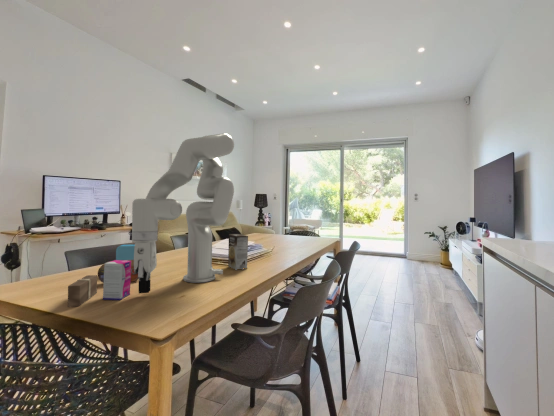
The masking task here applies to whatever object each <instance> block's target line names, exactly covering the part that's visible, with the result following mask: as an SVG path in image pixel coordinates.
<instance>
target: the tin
mask: <svg viewBox="0 0 554 416" xmlns="http://www.w3.org/2000/svg"><path fill="white" fill-rule="evenodd" d="M111 261H112V260H110V261H109V262H111ZM123 261H131V280H130V283H133V282H137V280H138V281H139V278H138V273H135V272H134V260H123ZM104 264H105V263H103V264H102V265H101V266H99V268H98V271H97V279H98V281H100V282H101V283H102V284H104Z"/></svg>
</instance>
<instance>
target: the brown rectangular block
mask: <svg viewBox="0 0 554 416" xmlns="http://www.w3.org/2000/svg"><path fill="white" fill-rule="evenodd" d="M97 292H98V274H97V275H96V274H92V275H91V274H90V275H86V276H83V277H82V278H79V279H77V281H74V282H73V283H70V284H69V285H68V286H67V307H69V308H70V307H72V308H73V307H81V306H82V305H83V304H85V303H86V302H87V301H89V300H90V299H91V298H93V297H94V296H95V295H97Z"/></svg>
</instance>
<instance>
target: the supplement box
mask: <svg viewBox="0 0 554 416" xmlns="http://www.w3.org/2000/svg"><path fill="white" fill-rule="evenodd" d="M110 261H111V262H110ZM110 261H107V262H105V263H103V264H104V283H103V286H102V287H103V288H102V289H103V290H102V300H103V301H121V300H123V299H124V298H126V297H128V296H130V295H131V282H130V280H131V261H123V260H116V259H114V260H110Z"/></svg>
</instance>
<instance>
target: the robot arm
mask: <svg viewBox="0 0 554 416" xmlns="http://www.w3.org/2000/svg"><path fill="white" fill-rule="evenodd" d="M234 149H235V142H234V139H233V137H232V136H231V135H230V134H228V133H226V132H225V133H224V132H223V133H217V134H209V135H205V136H200V137H192V138H191V137H190V138H188V139H187V138H186V139H185V140H183V141H182V142H181V144H180V145H179V148H178V150H177V152H176V153H175V156H174V159H173V161H172V162H171V165H170V167H169V169H168V170H167V171H166V172H165V173H164V174H163V175H162V176H161V177H160V178H159V179H158V180H156V181H155V183H154V184H153V185H152V186H151V187H150V189H149V191H148V192H147V195H146V197H145V198H136V199H135V198H134V199H133V200H132V206H131V208H132V209H131V210H132V211H131V215H132V216H131V221H132V222H131V225H132V226H131V228H132V229H131V242H132V243H134V245H135V248H134V272H135V273H138V278H139V279H138V294H149V293H150V292H151V273H152V272H153V271H154V270H155V269H156V268H157V265H158V263H157V261H158V260H157V243H156V242H158V239H159V238H158V230H159V228H158V227H159V225H158V223H159V220H162V221H173V220H177V219H178V218H179V217H180V216H181V215H182V212H183V206H182V204H181V203H180V202H179V201H178V200H176V199H173V198H168V197H169V195H170V194H171V193H172V192H174V191H175V190H177V189H179V188H181V187H182V186H185V185H186V184H189V182H191V181H192V179H193V176H194V174H195V172H196V170H197V167H198V165H199V163H200V161H202V171H201V174H200V178H199V180H198V184H197V187H196V195H197V196H198V198H200V199H201V200H202V201H201V200H200V201H194V202H192V203H190V204H189V205H188V206H187V208H186V209H185V210H186V211H185V217H186V223H187V274H185V275H183V277H182V278H183V279H182V280H183V281H184V282H187V283H194V284H195V283H196V284H198V283H209V282H211V281H214V280H215V279H216V275H223V274H224V270H223V269H220V268H213V233H212V230H211V227H210V226H213V227H219V226H223V225H224V224H225V223H226V221H227V220H228V217H229V215H230V211H231V208H232V207H231V206H232V202H233V199H234V193H235V188H234V183H233V181H232V180H231V179H230V178H228V177H226V176H223V172H224V166H223V164H222V162H221V160H220V158H221V157H224V156H227V155H230V154H231V153H232V152H233V150H234ZM203 200H204V201H203Z"/></svg>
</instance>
